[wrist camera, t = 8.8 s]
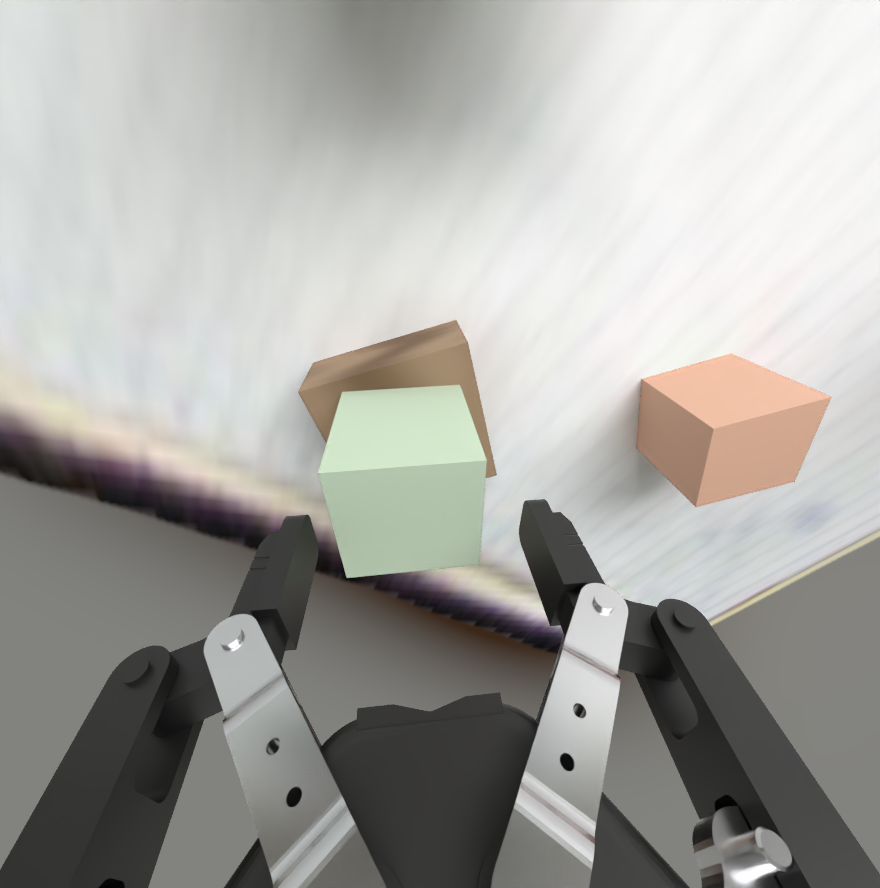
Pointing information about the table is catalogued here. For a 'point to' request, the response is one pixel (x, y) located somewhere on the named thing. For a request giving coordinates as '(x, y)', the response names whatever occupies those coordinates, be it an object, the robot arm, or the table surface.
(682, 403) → the terracotta block
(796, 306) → the table surface
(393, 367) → the walnut base
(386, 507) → the sage block
